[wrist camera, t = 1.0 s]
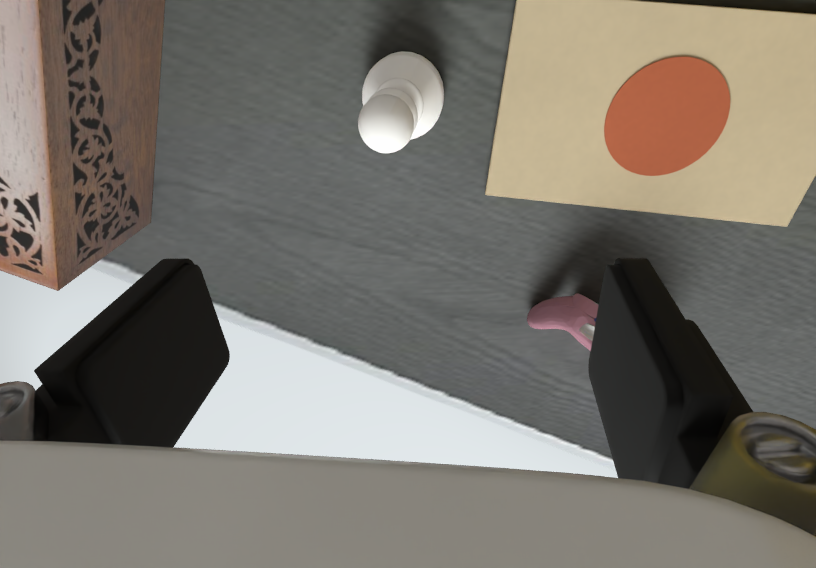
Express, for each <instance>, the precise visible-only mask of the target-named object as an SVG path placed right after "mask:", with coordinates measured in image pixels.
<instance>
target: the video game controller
mask: <svg viewBox="0 0 816 568" xmlns="http://www.w3.org/2000/svg"><path fill="white" fill-rule="evenodd" d="M598 306H599V304H597V303H595V302H594V301H592V300H590V299H588V298H587V297H585V296H583V295H581V294H578V293H576V294H575V295H574V296H566V297H556V298H552V299H548V300H545V301H543V302H540V303H539V304H537V305H535V306H534V307H533V308H532V309H531V310H530V311H529V314H528V317H527V321H528V324H529V325H530V326H531V327H533V328H536V329H563V330H566V331H568V332H570V333H571V334H572V335H573V336H574V337H575V338H576V339H577V340H578V341H579V342H580V343H581V344H583V345H584V346H585V347H586V348H588V349H589V350H590V351H591V346H592V340H593V334H594V329H595V323H596V317H597V311H598Z"/></svg>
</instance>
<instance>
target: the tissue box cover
mask: <svg viewBox="0 0 816 568" xmlns="http://www.w3.org/2000/svg"><path fill="white" fill-rule="evenodd" d="M164 7H165V0H0V270H1V271H4V272H6V273H9V274H12V275H15V276H18V277H20V278H24V279H26V280H29V281H32V282H35V283H37V284H40V285H43V286H46V287H49V288H51V289H54V290H57V291H58V290H60V289H61V288H63V287H64V286H65V285H67V284H68V283H69V282H71V281H72V280H73V279H75V278H76V277H77V276H79V275H80V274H82V273H83V272H84V271H85V270H87V269H88V268H90V267H91V266H92V265H94V264H95V263H96V262H98V261H99V260H101V259H102V258H103V257H105V256H106V255H107V254H109V253H110V252H111V251H113V250H114V249H115V248H117V247H118V246H119V245H121V244H122V243H124V242H125V241H126V240H128V239H129V238H130V237H132V236H133V235H134V234H136V233H137V232H138V231H140V230H141V229H142V228H144V227H145V226H147V225H148V224H149V223H151V211H152V195H153V180H154V164H155V148H156V133H157V117H158V101H159V86H160V70H161V54H162V39H163V23H164Z"/></svg>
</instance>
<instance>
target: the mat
mask: <svg viewBox="0 0 816 568" xmlns="http://www.w3.org/2000/svg"><path fill="white" fill-rule="evenodd" d="M815 175H816V14H809V13H796V12H783V11H770V10H757V9H744V8H731V7H718V6H705V5H692V4H679V3H666V2H653V1H640V0H516V5H515V11H514V17H513V23H512V29H511V36H510V42H509V48H508V54H507V60H506V67H505V73H504V79H503V85H502V91H501V97H500V104H499V110H498V116H497V122H496V128H495V134H494V141H493V147H492V153H491V159H490V165H489V172H488V178H487V184H486V190H485V195H491V196H501V197H510V198H520V199H529V200H539V201H548V202H558V203H567V204H577V205H586V206H596V207H605V208H614V209H624V210H633V211H643V212H652V213H662V214H671V215H681V216H690V217H700V218H709V219H719V220H728V221H738V222H747V223H756V224H766V225H775V226H785V227H787V226H788V224H789V222H790V220H791V219H792V217H793V215H794V213H795V211H796V210H797V208H798V206H799V204H800V202H801V200H802V199H803V197H804V195H805V193H806V191H807V190H808V188H809V186H810V184H811V182H812V181H813V179H814V177H815Z"/></svg>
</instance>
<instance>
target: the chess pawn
mask: <svg viewBox="0 0 816 568" xmlns="http://www.w3.org/2000/svg"><path fill="white" fill-rule="evenodd" d="M362 102H363V108H362V110H361V111H360V115H359V119H358V128H359V132H360V135H361V137H362V139H363V141H364V142H365V143H366V144H367V145H368V146H369V147H370V148H372V149H373V150H375V151H377V152H380V153H392V152H396V151H398V150H400V149H402V148H403V147H404V146H405V145H406V144H407V143H408V142H409V140H410V139H414V138H417V137H419V136H421V135H423V134H425V133H426V132H427V131H429V130H430V129H431V128H432V127H433V126H434V124H435V123H436V121H437V120H438V118H439V116H440V113H441V110H442V106H443V102H444V88H443V81H442V79H441V77H440V75H439V72H438V70H437V69H436V68H435V67H434V65H433V64H432V63H431V62H430V61H429V60H427V59H426V58H424V57H423V56H421V55H419V54H416V53H413V52H404V51H400V52H396V53H392V54H389V55H388V56H386V57H384V58H382V59H381V60H380V61H378V62H377V63H376V64H375V65H374V66H373V67H372V68H371V69H370V71H369V73H368V75H367V77H366V79H365V82H364V86H363V90H362Z"/></svg>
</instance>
